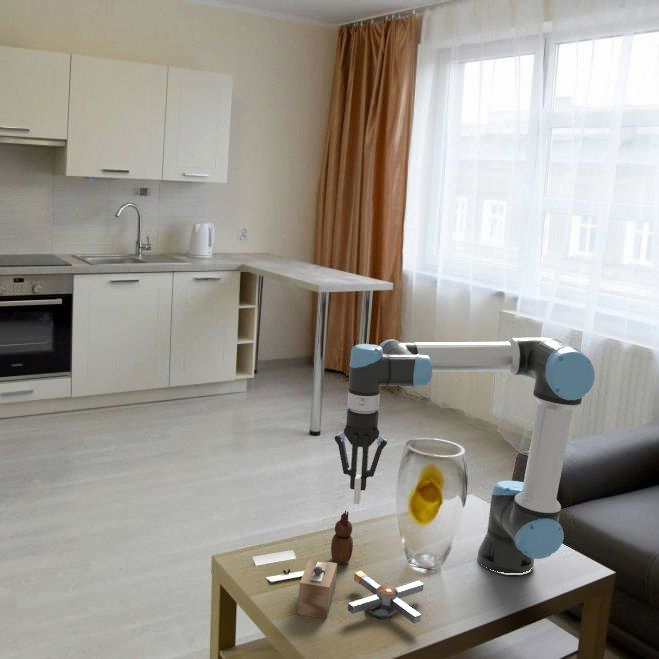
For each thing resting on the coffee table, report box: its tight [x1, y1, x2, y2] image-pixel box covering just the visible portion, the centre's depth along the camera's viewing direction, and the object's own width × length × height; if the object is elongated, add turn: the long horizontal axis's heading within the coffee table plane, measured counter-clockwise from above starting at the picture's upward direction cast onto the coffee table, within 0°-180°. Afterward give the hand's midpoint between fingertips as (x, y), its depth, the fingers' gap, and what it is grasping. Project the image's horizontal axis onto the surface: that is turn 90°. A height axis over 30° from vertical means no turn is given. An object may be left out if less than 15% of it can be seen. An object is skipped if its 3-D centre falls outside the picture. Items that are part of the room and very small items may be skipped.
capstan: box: [347, 570, 424, 624], centre depth 196 cm, size 22×22×5 cm
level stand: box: [297, 558, 338, 620], centre depth 195 cm, size 7×12×10 cm, turn 171°
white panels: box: [252, 549, 305, 583], centre depth 212 cm, size 12×12×2 cm
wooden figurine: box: [330, 510, 354, 565], centre depth 217 cm, size 7×6×15 cm
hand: (357, 501), depth 199 cm, fingers closed
